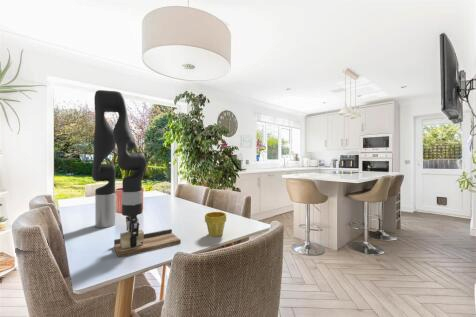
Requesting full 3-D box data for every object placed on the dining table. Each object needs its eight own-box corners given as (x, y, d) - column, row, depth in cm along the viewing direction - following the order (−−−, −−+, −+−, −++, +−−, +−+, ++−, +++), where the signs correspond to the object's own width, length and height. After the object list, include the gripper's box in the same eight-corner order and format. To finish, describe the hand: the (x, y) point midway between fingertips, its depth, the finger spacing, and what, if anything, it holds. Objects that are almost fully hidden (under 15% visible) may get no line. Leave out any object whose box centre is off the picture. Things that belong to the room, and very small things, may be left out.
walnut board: (114, 246, 93) (114, 239, 93) (171, 235, 107) (171, 228, 107) (118, 257, 83) (118, 249, 83) (180, 243, 97) (180, 236, 97)
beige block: (120, 245, 90) (120, 233, 90) (141, 241, 95) (141, 229, 95) (122, 249, 86) (122, 236, 86) (144, 245, 91) (144, 232, 91)
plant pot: (200, 236, 106) (200, 215, 106) (211, 229, 116) (211, 210, 115) (219, 239, 102) (219, 218, 102) (229, 232, 111) (229, 212, 111)
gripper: (119, 200, 94) (119, 241, 94) (124, 206, 83) (124, 253, 83) (138, 198, 98) (138, 237, 99) (146, 204, 87) (146, 248, 87)
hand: (132, 244), depth 91 cm, fingers closed on beige block, 4 cm apart
